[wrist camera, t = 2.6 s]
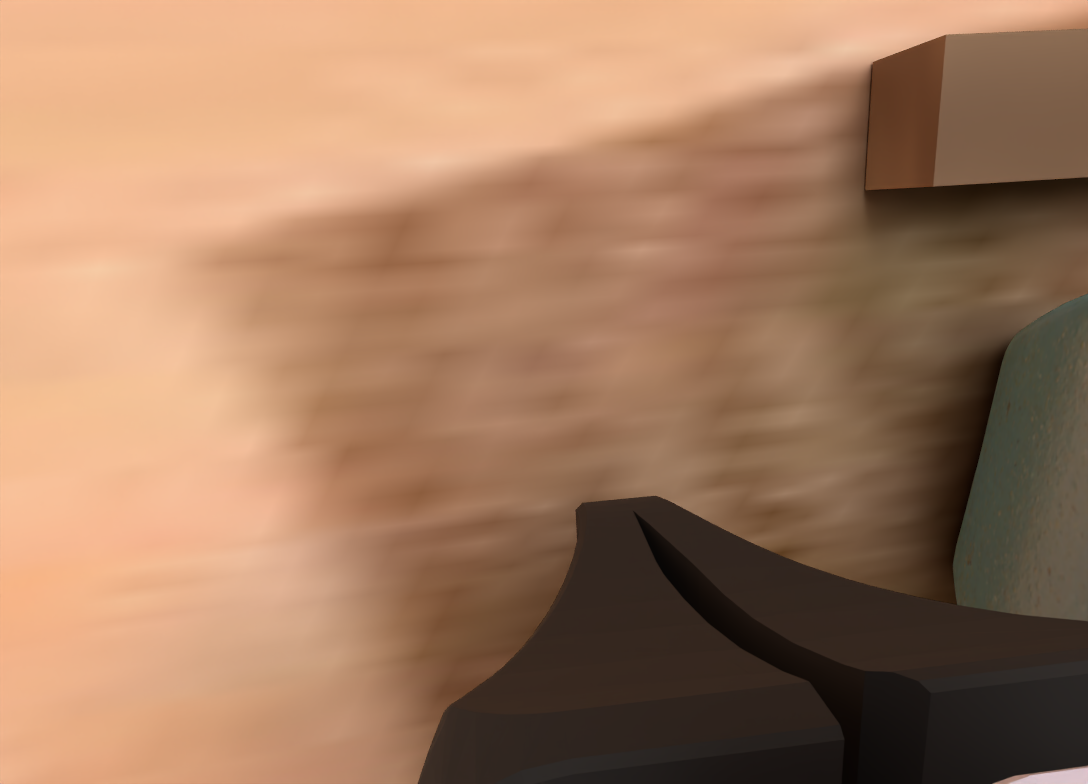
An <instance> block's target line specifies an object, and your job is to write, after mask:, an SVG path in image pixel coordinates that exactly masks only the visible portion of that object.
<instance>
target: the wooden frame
mask: <svg viewBox="0 0 1088 784" xmlns="http://www.w3.org/2000/svg"><path fill="white" fill-rule="evenodd" d="M1080 177H1088V29H1070V30H1047V31H1023V32H1000V33H976V34H952V35H944V36H941V37H939V38H936V39H933V40H931V41H928V42H925V43H923V44H920V45H917V46H915V47H912V48H909V49H907V50H904V51H901V52H899V53H896V54H893V55H891V56H888V57H885V58H883V59H880V60H877V61H875V62H873V69H872V85H871V102H870V119H869V135H868V152H867V168H866V185H865V190H877V189H896V188H914V187H933V186H949V185H965V184H982V183H998V182H1015V181H1031V180H1047V179H1064V178H1080Z"/></svg>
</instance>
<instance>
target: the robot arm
mask: <svg viewBox="0 0 1088 784" xmlns="http://www.w3.org/2000/svg"><path fill="white" fill-rule="evenodd" d="M576 526H577V544H576V548H575V553H574V556H573V559H572V562H571V565H570V567H569V570H568V573H567V575H566V578H565V581H564V583H563V585H562V587H561V589H560V591H559V594H558V595H557V597H556V599H555V601H554V603H553V605H552V606H551V608H550V610H549V612H548V613H547V615H546V616H545V618H544V619H543V621H542V622H541V623H540V625H539V626H538V628H537V629H536V631H535V632H534V633H533V635H532V636H531V637H530V639H529V640H528V641H527V642H526V644H525V645H524V646H523V647H522V648H521V649H520V650H519V651H518V652H517V653H516V654H515V656H514V657H513V658H512V659H511V660H510V661H509V662H508V663H507V664H506V665H505V666H504V667H503V668H501V669H500V670H499V671H498V672H497V673H495V674H494V675H493V676H492V677H490V678H489V679H487V680H486V681H485V682H483V683H482V684H480V685H479V686H478V687H476V688H475V689H473V690H472V691H470V692H469V693H468V694H466V695H465V696H463V697H462V698H461V699H459V700H457V701H456V702H454V703H453V704H451V705H450V706H449V707H448V708H447V709H446V710H445V712H444V713H443V716H442V718H441V721H440V723H439V725H438V728H437V731H436V733H435V736H434V738H433V741H432V744H431V746H430V749H429V752H428V754H427V757H426V760H425V763H424V766H423V769H422V772H421V775H420V778H419V781H418V784H1088V621H1082V620H1071V619H1061V618H1050V617H1039V616H1029V615H1020V614H1012V613H1005V612H999V611H992V610H986V609H980V608H973V607H967V606H961V605H955V604H950V603H944V602H939V601H934V600H929V599H924V598H919V597H915V596H911V595H906V594H902V593H898V592H894V591H890V590H886V589H882V588H878V587H873V586H870V585H866V584H862V583H859V582H855V581H852V580H848V579H845V578H842V577H839V576H836V575H833V574H830V573H827V572H824V571H821V570H818V569H815V568H812V567H809V566H806V565H803V564H801V563H798V562H795V561H793V560H790V559H788V558H785V557H783V556H780V555H778V554H776V553H773V552H771V551H769V550H766V549H764V548H762V547H760V546H757V545H755V544H753V543H751V542H748V541H746V540H744V539H742V538H740V537H738V536H736V535H734V534H732V533H730V532H728V531H726V530H724V529H722V528H720V527H718V526H716V525H714V524H712V523H710V522H708V521H706V520H704V519H702V518H701V517H699V516H697V515H695V514H693V513H691V512H689V511H687V510H685V509H683V508H682V507H680V506H678V505H676V504H674V503H672V502H670V501H668V500H665V499H663V498H660V497H658V496H649V497H639V498H629V499H618V500H608V501H598V502H587V503H582V504H581V505H580V506H579V507H578V508H577V509H576Z"/></svg>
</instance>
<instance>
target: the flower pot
mask: <svg viewBox="0 0 1088 784" xmlns="http://www.w3.org/2000/svg"><path fill="white" fill-rule="evenodd" d="M953 576H954V585H955V593H956V600H957V605H961V606H967V607H973V608H980V609H986V610H992V611H999V612H1005V613H1012V614H1020V615H1029V616H1039V617H1050V618H1061V619H1071V620H1082V621H1088V294H1086V295H1083V296H1081V297H1079V298H1076V299H1074V300H1072V301H1069V302H1067V303H1065V304H1063V305H1061V306H1059V307H1057V308H1056V309H1054V310H1052V311H1050V312H1049V313H1047V314H1045V315H1043V316H1041V317H1040V318H1038V319H1037V320H1035V321H1034V322H1032V323H1031V324H1029V325H1028V326H1026V327H1025V328H1024V329H1022V330H1021V331H1020V332H1019V333H1017V334H1016V335H1015V336H1014V338H1013V339H1012V340H1011V342H1010V344H1009V346H1008V348H1007V350H1006V352H1005V355H1004V358H1003V361H1002V365H1001V369H1000V373H999V377H998V382H997V386H996V390H995V394H994V398H993V403H992V407H991V411H990V415H989V419H988V424H987V428H986V432H985V436H984V440H983V445H982V449H981V453H980V457H979V461H978V465H977V469H976V472H975V476H974V480H973V484H972V487H971V491H970V495H969V499H968V503H967V507H966V511H965V515H964V518H963V522H962V526H961V530H960V533H959V537H958V541H957V545H956V550H955V555H954V561H953Z"/></svg>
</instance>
